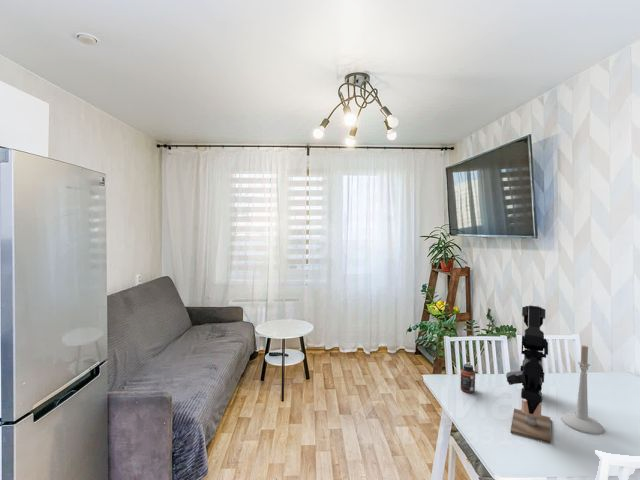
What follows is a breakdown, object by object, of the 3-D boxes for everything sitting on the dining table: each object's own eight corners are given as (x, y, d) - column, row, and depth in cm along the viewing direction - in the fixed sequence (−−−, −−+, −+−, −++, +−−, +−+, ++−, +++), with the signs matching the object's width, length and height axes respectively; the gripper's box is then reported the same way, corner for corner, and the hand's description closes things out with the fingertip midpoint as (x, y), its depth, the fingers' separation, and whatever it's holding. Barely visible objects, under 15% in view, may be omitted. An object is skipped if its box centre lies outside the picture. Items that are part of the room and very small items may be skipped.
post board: (514, 410, 142) (514, 397, 142) (549, 419, 136) (550, 405, 136) (510, 432, 127) (510, 417, 127) (550, 443, 121) (551, 427, 121)
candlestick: (568, 430, 129) (572, 348, 128) (555, 413, 141) (558, 338, 140) (610, 436, 125) (614, 352, 124) (593, 418, 138) (596, 341, 137)
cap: (522, 406, 136) (522, 394, 136) (541, 411, 133) (541, 399, 132) (521, 413, 131) (521, 401, 130) (541, 418, 127) (541, 406, 127)
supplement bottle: (476, 393, 157) (476, 368, 156) (461, 392, 158) (462, 367, 157) (473, 387, 163) (473, 363, 162) (459, 386, 164) (459, 362, 163)
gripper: (510, 355, 143) (508, 394, 144) (505, 371, 127) (504, 414, 128) (542, 361, 137) (541, 401, 138) (542, 379, 121) (541, 424, 122)
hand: (531, 409), depth 132 cm, fingers closed on cap, 6 cm apart
